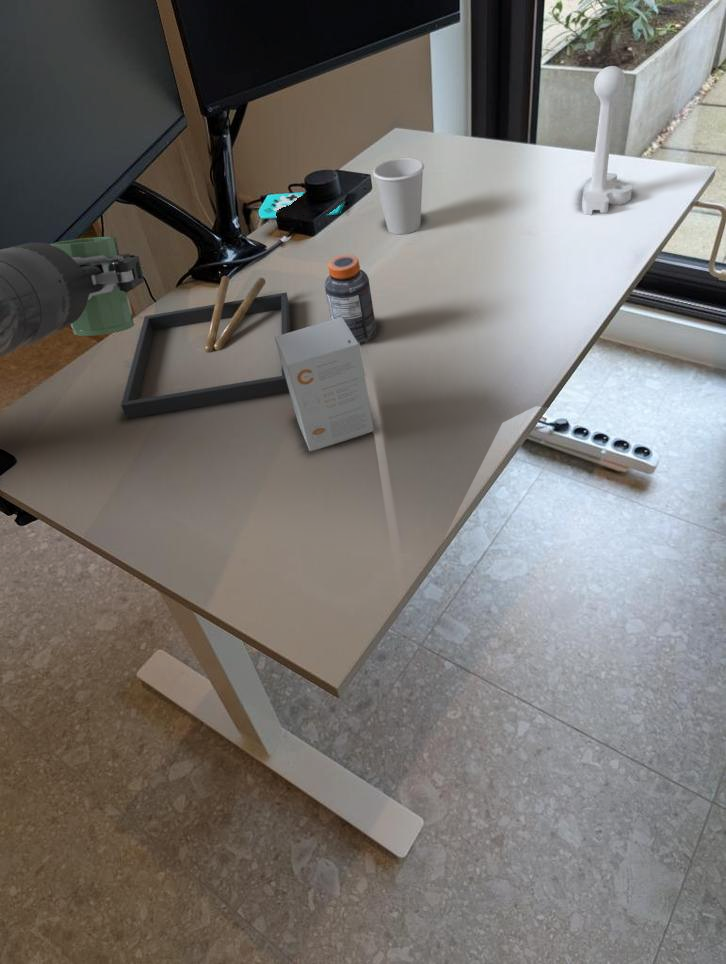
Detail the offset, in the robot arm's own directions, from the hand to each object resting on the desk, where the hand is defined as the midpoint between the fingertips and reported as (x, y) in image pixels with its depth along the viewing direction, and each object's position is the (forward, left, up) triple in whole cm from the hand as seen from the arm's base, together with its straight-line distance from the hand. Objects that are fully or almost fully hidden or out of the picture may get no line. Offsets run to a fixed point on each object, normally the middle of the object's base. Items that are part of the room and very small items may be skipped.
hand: (97, 266), depth 72 cm
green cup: (-1, -4, -5) cm, 6 cm away
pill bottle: (+26, +13, -22) cm, 36 cm away
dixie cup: (+37, +44, -22) cm, 61 cm away
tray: (+6, +12, -22) cm, 26 cm away
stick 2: (+10, +19, -19) cm, 29 cm away
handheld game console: (+19, +59, -22) cm, 66 cm away
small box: (+22, -7, -22) cm, 32 cm away
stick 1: (+6, +20, -19) cm, 28 cm away
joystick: (+71, +41, -22) cm, 85 cm away
